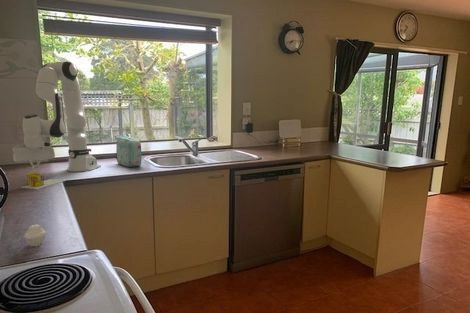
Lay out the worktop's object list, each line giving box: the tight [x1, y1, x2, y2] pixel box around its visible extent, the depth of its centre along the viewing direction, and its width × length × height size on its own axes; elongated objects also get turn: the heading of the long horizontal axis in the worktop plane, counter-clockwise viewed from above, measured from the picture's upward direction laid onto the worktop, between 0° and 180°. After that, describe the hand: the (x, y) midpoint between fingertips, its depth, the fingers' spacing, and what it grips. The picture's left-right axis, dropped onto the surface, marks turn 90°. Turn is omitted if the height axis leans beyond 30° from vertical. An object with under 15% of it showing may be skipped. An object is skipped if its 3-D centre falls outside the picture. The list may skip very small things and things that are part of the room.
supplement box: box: [26, 171, 45, 187], centre depth 185 cm, size 6×6×11 cm
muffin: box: [24, 224, 47, 247], centre depth 109 cm, size 6×6×7 cm
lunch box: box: [115, 135, 142, 168], centre depth 243 cm, size 27×10×21 cm, turn 42°
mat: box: [20, 178, 66, 190], centre depth 188 cm, size 20×11×1 cm, turn 163°
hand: (35, 168), depth 189 cm, fingers closed
